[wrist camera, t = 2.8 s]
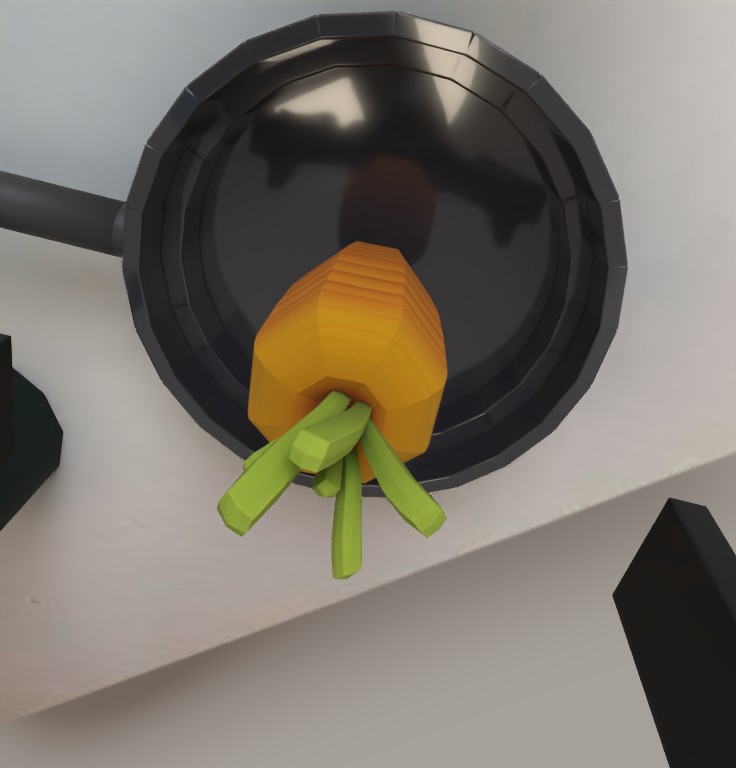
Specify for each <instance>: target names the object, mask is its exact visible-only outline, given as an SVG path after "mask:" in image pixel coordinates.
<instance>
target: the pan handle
mask: <svg viewBox="0 0 736 768" xmlns="http://www.w3.org/2000/svg"><path fill="white" fill-rule="evenodd" d="M125 207H126V202H123V201H119V200H115V199H111V198H107V197H103V196H99V195H95V194H91V193H87V192H83V191H79V190H75V189H71V188H67V187H63V186H59V185H55V184H51V183H47V182H43V181H39V180H35V179H31V178H27V177H23V176H19V175H15V174H11V173H7V172H3V171H0V228H4V229H8V230H12V231H16V232H20V233H24V234H28V235H33V236H37V237H41V238H45V239H49V240H53V241H57V242H61V243H65V244H69V245H73V246H77V247H81V248H85V249H89V250H93V251H97V252H101V253H105V254H109V255H113V256H117V257H123V247H124V244H125V240H126V239H125V232H124V214H125Z"/></svg>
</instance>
